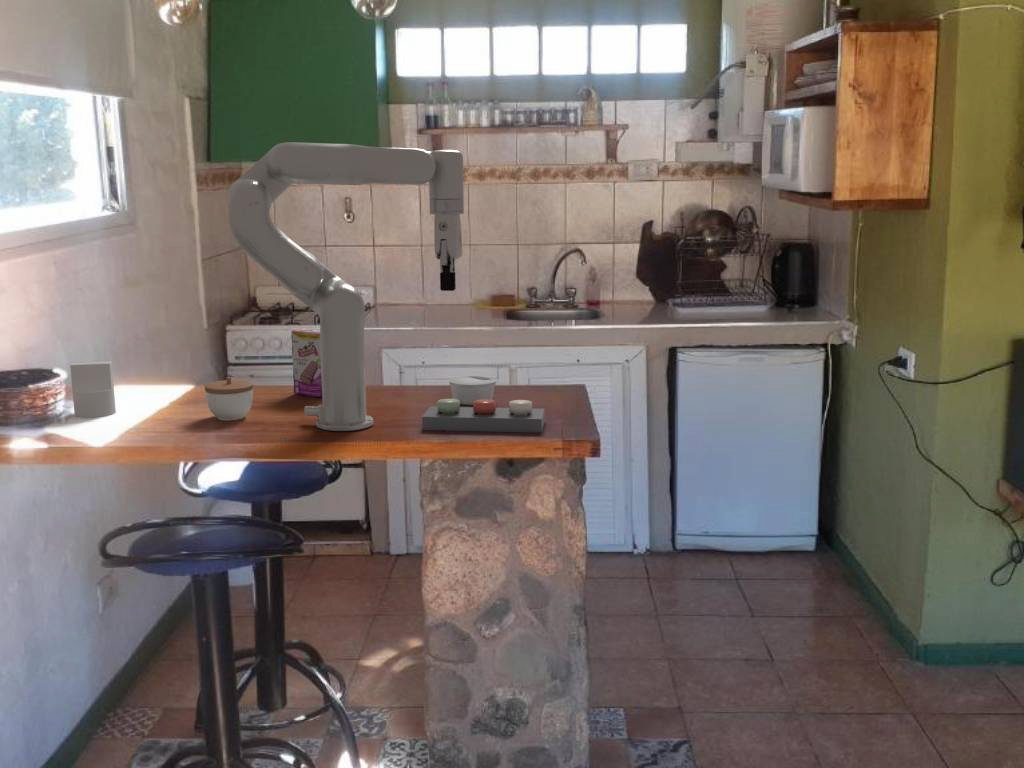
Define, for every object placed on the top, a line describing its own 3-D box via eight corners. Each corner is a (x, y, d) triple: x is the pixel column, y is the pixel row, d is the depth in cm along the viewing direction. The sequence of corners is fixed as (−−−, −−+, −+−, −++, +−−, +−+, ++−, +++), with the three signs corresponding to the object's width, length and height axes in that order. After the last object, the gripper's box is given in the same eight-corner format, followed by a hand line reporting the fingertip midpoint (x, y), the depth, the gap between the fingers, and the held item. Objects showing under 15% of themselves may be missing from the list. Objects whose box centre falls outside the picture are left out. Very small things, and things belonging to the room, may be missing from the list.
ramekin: (500, 397, 266) (500, 376, 264) (488, 407, 255) (488, 385, 254) (457, 395, 268) (457, 374, 267) (444, 405, 258) (443, 383, 257)
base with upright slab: (118, 408, 255) (114, 358, 252) (112, 417, 246) (108, 365, 244) (78, 410, 253) (73, 360, 250) (71, 419, 244) (66, 367, 242)
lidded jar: (200, 423, 240) (198, 382, 238) (214, 412, 251) (211, 372, 249) (248, 423, 240) (246, 382, 238) (259, 412, 251) (257, 372, 249)
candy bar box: (292, 394, 269) (289, 330, 266) (306, 391, 273) (303, 327, 270) (327, 399, 264) (324, 333, 260) (340, 395, 268) (338, 331, 264)
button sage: (435, 425, 235) (435, 403, 234) (439, 419, 240) (439, 398, 239) (458, 425, 235) (457, 403, 234) (461, 420, 239) (461, 398, 238)
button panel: (422, 430, 233) (422, 416, 232) (430, 419, 243) (430, 406, 242) (541, 432, 230) (541, 419, 230) (544, 421, 240) (544, 408, 240)
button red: (471, 425, 234) (471, 404, 233) (474, 420, 239) (474, 399, 238) (494, 426, 234) (494, 404, 233) (497, 420, 239) (496, 399, 238)
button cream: (508, 426, 234) (508, 404, 233) (510, 421, 238) (510, 399, 237) (530, 427, 233) (530, 405, 232) (532, 421, 238) (532, 400, 237)
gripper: (458, 208, 228) (459, 294, 232) (468, 205, 243) (469, 286, 246) (423, 208, 229) (425, 294, 232) (435, 205, 243) (437, 286, 247)
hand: (447, 290), depth 239 cm, fingers closed
